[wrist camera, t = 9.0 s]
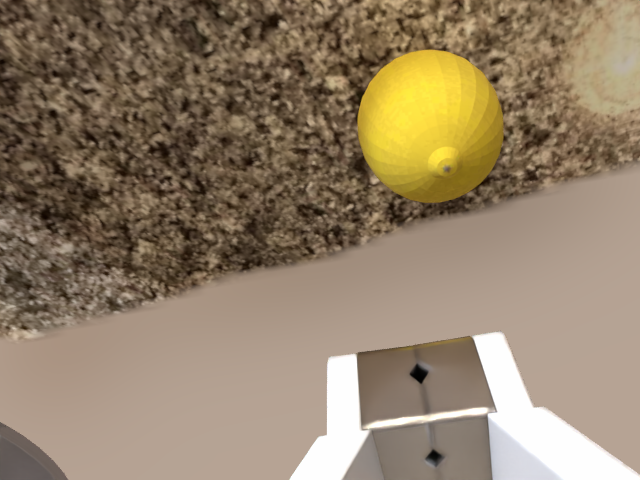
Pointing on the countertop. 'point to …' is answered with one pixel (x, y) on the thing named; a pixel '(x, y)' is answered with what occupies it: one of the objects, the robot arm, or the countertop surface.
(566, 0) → the countertop surface
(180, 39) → the countertop surface
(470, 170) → the lemon
